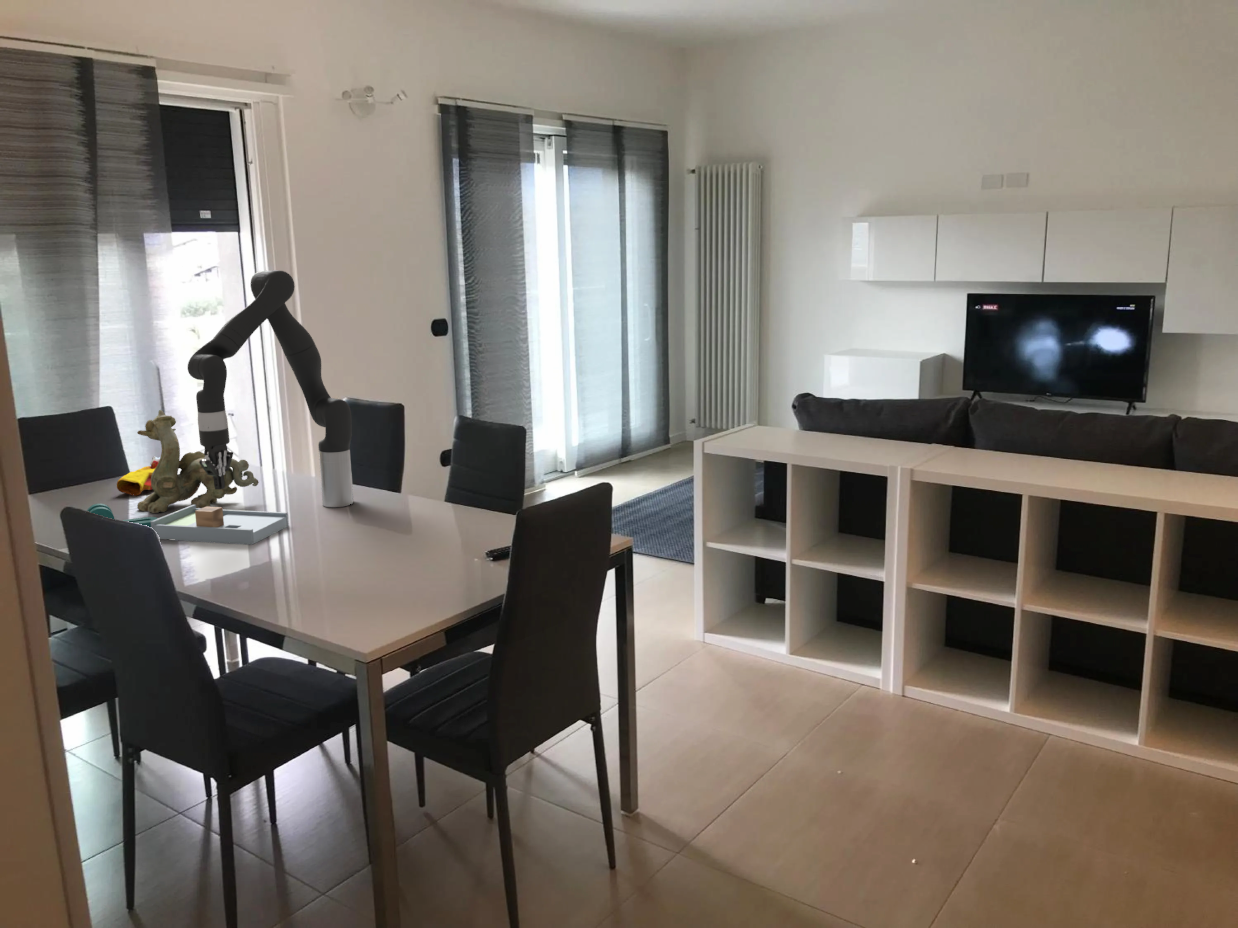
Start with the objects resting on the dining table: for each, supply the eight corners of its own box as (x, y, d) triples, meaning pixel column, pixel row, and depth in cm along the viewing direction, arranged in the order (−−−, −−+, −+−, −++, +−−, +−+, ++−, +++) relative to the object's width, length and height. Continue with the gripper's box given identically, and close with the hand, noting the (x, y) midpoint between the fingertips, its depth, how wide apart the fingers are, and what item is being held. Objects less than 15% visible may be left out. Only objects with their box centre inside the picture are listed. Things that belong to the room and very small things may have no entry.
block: (207, 523, 275) (206, 506, 274) (223, 524, 274) (222, 507, 273) (196, 528, 270) (195, 510, 269) (213, 529, 269) (211, 511, 268)
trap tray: (194, 521, 290) (192, 504, 289) (288, 526, 284) (287, 509, 283) (152, 539, 271) (150, 521, 270) (252, 544, 266) (250, 526, 265)
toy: (152, 475, 318) (192, 448, 347) (113, 475, 319) (156, 449, 347) (156, 501, 321) (195, 472, 350) (117, 501, 321) (159, 472, 350)
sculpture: (213, 487, 330) (220, 401, 321) (255, 517, 314) (264, 428, 305) (123, 498, 308) (128, 407, 299) (163, 531, 292) (169, 435, 283)
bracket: (88, 537, 274) (85, 510, 272) (87, 532, 280) (84, 505, 278) (159, 528, 283) (157, 501, 281) (156, 523, 289) (154, 497, 287)
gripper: (211, 432, 264) (218, 495, 268) (239, 423, 277) (245, 483, 281) (186, 431, 266) (193, 494, 269) (215, 422, 278) (221, 482, 282)
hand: (220, 488), depth 275 cm, fingers closed
